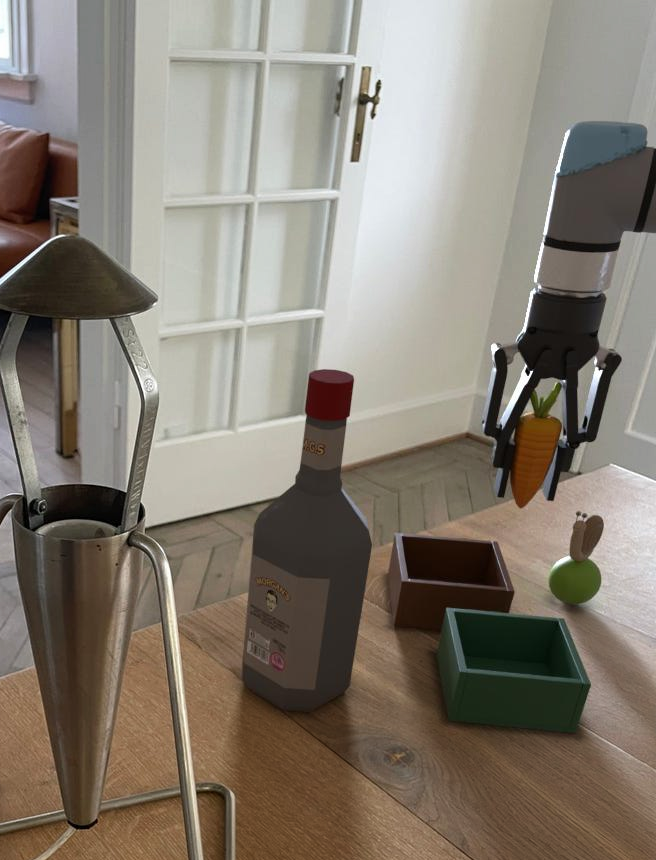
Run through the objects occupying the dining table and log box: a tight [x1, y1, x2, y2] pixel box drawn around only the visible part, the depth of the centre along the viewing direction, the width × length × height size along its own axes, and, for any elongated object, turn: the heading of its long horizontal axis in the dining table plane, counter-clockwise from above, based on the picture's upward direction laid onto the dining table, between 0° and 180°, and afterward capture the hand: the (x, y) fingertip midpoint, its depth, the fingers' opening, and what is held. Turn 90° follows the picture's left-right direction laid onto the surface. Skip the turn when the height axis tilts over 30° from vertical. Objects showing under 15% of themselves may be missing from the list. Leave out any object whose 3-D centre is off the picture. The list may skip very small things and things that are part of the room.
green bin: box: [435, 608, 592, 734], centre depth 92 cm, size 11×11×6 cm
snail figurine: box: [548, 510, 605, 605], centre depth 105 cm, size 5×6×12 cm
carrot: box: [509, 381, 563, 509], centre depth 110 cm, size 5×5×15 cm
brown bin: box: [387, 532, 515, 631], centre depth 106 cm, size 11×11×6 cm
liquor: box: [241, 368, 373, 713], centre depth 85 cm, size 9×9×30 cm
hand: (523, 494), depth 114 cm, fingers closed on carrot, 5 cm apart
